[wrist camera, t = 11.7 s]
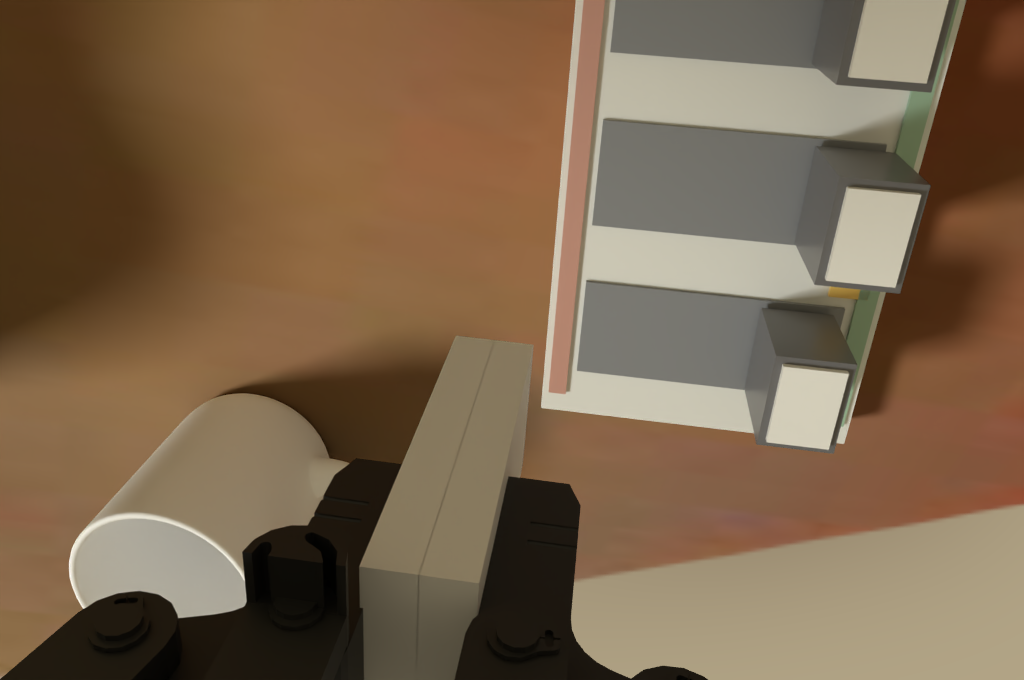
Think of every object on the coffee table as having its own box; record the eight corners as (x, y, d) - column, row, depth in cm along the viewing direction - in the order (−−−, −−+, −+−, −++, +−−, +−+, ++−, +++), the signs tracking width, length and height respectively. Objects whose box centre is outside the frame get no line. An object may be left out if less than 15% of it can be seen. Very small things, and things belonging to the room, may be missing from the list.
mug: (411, 512, 47) (353, 663, 38) (212, 523, 49) (110, 668, 40) (375, 375, 44) (301, 503, 34) (162, 393, 46) (37, 519, 36)
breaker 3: (794, 243, 35) (815, 287, 31) (815, 145, 33) (841, 178, 29) (870, 250, 35) (901, 296, 31) (895, 152, 33) (933, 187, 29)
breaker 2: (811, 63, 32) (837, 86, 28) (836, -54, 30) (867, -50, 26) (894, 70, 32) (933, 94, 28) (923, -49, 30) (970, -42, 26)
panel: (545, 387, 43) (540, 409, 41) (612, -383, 29) (609, -405, 27) (835, 420, 41) (845, 446, 39) (1045, -369, 28) (1076, -390, 26)
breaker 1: (744, 389, 38) (757, 447, 34) (761, 307, 37) (777, 358, 32) (813, 397, 38) (834, 457, 34) (833, 315, 36) (858, 367, 32)
